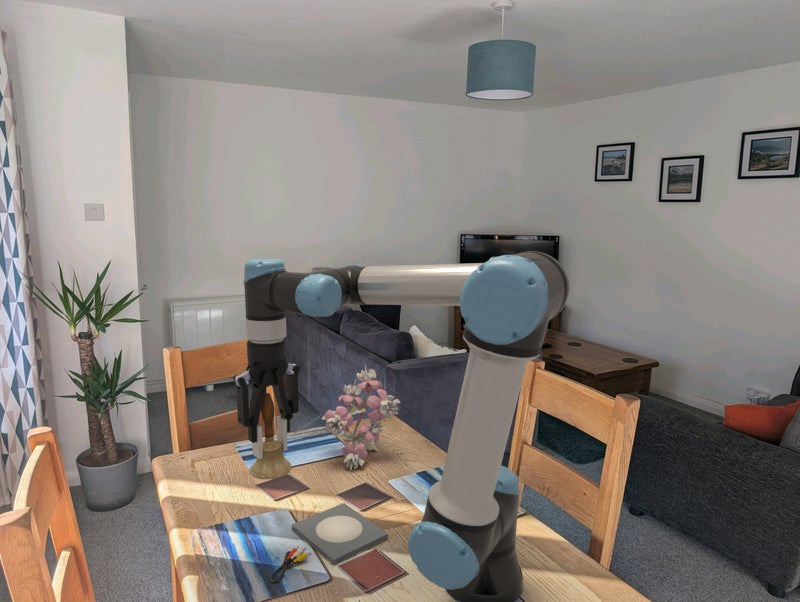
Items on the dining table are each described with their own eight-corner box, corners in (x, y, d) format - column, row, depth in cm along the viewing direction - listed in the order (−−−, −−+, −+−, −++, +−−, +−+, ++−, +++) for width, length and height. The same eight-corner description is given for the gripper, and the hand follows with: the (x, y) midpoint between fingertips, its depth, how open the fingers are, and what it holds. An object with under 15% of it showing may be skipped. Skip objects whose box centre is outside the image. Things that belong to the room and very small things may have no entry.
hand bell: (265, 483, 108) (262, 404, 106) (241, 470, 114) (238, 394, 111) (300, 469, 114) (298, 393, 112) (275, 456, 120) (273, 384, 117)
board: (387, 538, 121) (387, 533, 121) (333, 565, 112) (333, 559, 112) (343, 507, 133) (343, 502, 133) (291, 529, 124) (291, 523, 124)
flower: (293, 447, 161) (311, 382, 148) (350, 417, 177) (371, 357, 164) (339, 497, 151) (363, 432, 139) (394, 461, 168) (420, 400, 155)
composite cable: (276, 587, 106) (276, 575, 106) (258, 577, 109) (258, 565, 108) (312, 560, 114) (312, 548, 114) (294, 551, 117) (294, 540, 116)
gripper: (295, 329, 118) (298, 434, 122) (214, 342, 106) (219, 459, 110) (316, 335, 113) (318, 445, 117) (232, 350, 101) (237, 472, 105)
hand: (270, 452), depth 113 cm, fingers closed on hand bell, 5 cm apart
